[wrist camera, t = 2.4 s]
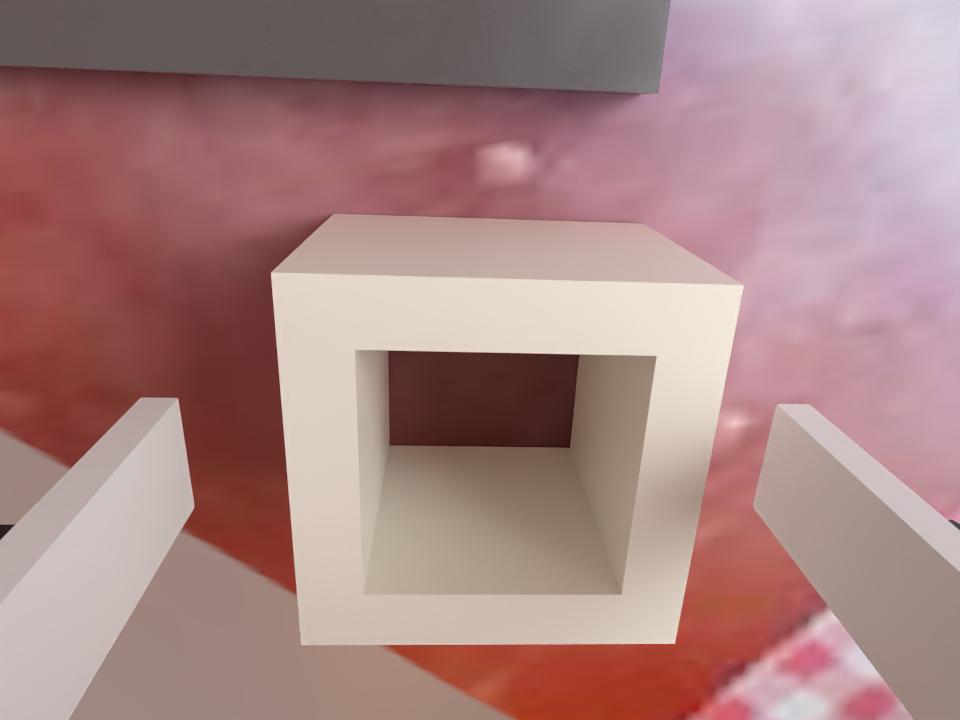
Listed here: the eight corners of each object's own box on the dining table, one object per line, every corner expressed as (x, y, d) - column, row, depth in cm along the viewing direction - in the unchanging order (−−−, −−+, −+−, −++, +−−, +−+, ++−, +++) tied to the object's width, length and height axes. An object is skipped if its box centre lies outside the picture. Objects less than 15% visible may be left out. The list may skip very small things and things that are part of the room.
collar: (609, 486, 22) (675, 643, 16) (345, 484, 22) (301, 645, 15) (643, 223, 19) (743, 284, 13) (333, 213, 19) (271, 272, 12)
